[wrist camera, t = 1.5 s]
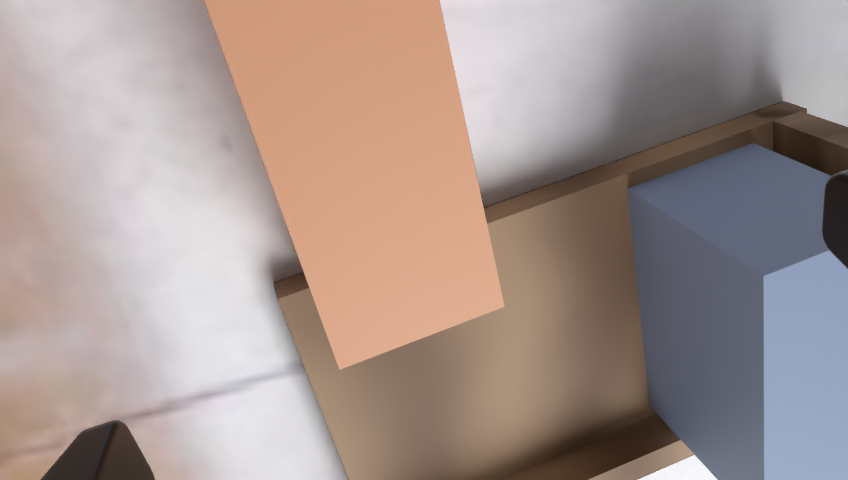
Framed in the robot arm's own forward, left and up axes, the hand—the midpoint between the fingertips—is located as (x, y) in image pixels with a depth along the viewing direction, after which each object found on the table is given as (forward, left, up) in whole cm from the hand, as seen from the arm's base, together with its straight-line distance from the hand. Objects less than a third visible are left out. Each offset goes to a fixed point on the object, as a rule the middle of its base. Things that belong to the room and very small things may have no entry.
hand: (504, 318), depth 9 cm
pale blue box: (+10, -10, -11) cm, 18 cm away
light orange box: (0, 0, -12) cm, 12 cm away
